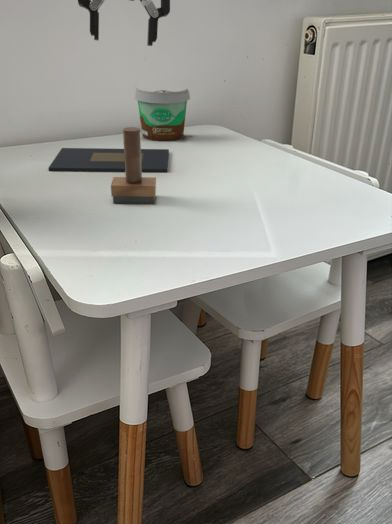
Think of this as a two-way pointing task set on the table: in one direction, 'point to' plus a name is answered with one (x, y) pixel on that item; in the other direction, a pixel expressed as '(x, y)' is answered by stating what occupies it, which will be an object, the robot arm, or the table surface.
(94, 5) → the robot arm
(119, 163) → the mat
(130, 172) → the brush
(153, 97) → the food container
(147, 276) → the table surface
